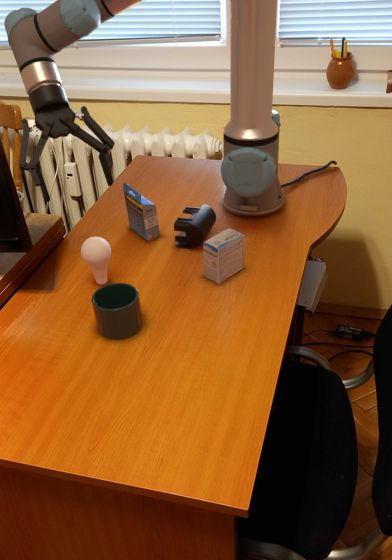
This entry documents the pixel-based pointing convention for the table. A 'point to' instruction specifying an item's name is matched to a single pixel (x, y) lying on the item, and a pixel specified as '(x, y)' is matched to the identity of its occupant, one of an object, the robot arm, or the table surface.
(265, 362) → the table surface
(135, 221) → the label tape box
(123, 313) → the pen cup
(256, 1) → the robot arm
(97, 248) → the lightbulb
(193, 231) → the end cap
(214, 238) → the medicine box
